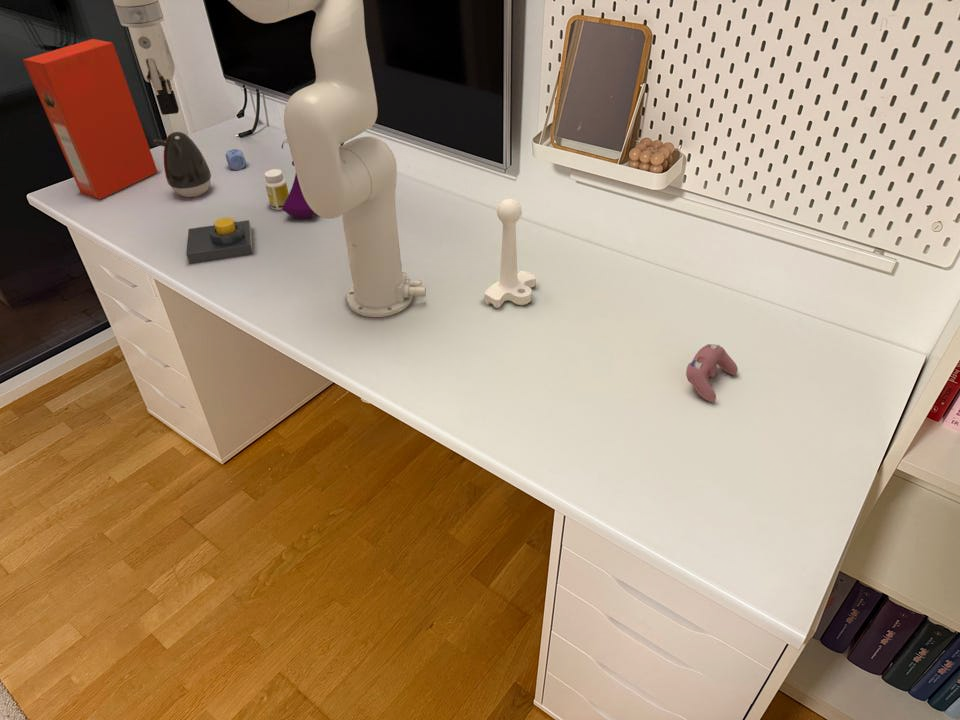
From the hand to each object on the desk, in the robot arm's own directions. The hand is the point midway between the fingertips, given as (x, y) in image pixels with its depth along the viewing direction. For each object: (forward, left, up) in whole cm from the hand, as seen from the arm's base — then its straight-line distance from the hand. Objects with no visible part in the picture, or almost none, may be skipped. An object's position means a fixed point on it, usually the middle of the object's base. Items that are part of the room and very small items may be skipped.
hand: (170, 112), depth 138 cm
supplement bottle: (-13, -13, -27) cm, 33 cm away
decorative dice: (+5, -34, -27) cm, 44 cm away
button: (-8, +6, -23) cm, 25 cm away
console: (-6, +6, -27) cm, 28 cm away
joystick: (-70, +22, -27) cm, 78 cm away
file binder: (+32, -24, -27) cm, 48 cm away
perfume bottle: (-20, -9, -27) cm, 35 cm away
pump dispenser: (+11, -19, -27) cm, 35 cm away
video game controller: (-103, +45, -27) cm, 116 cm away
